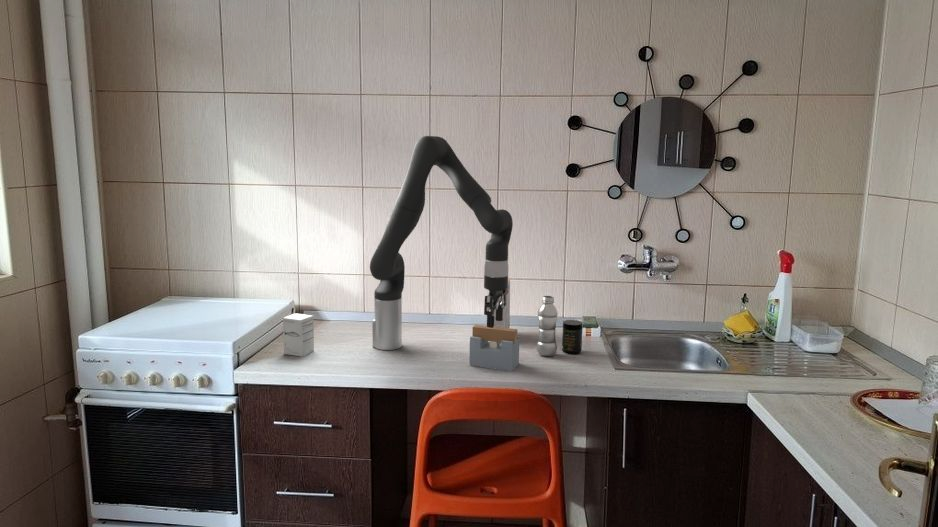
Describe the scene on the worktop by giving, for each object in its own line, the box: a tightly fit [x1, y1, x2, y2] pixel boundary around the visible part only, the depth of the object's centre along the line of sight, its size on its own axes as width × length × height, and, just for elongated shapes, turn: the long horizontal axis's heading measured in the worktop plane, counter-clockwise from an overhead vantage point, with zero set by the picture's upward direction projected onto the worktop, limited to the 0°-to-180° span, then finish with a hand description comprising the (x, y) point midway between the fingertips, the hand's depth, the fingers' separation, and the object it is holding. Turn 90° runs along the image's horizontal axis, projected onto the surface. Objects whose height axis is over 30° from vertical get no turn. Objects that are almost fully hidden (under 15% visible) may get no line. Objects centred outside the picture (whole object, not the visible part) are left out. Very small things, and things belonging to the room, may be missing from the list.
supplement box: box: [282, 313, 315, 358], centre depth 228 cm, size 7×7×13 cm
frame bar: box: [471, 324, 518, 344], centre depth 218 cm, size 14×3×4 cm, turn 69°
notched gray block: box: [468, 335, 520, 372], centre depth 219 cm, size 14×8×9 cm, turn 69°
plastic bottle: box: [536, 295, 558, 357], centre depth 228 cm, size 6×7×20 cm
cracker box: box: [494, 277, 511, 343], centre depth 248 cm, size 14×6×21 cm, turn 172°
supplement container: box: [561, 319, 584, 356], centre depth 233 cm, size 7×7×10 cm
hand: (494, 324), depth 217 cm, fingers open, 8 cm apart
